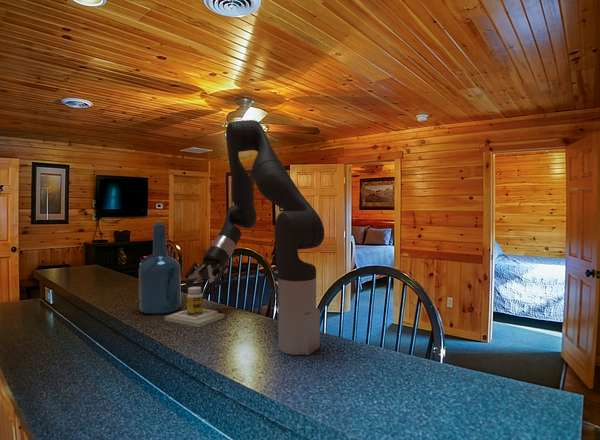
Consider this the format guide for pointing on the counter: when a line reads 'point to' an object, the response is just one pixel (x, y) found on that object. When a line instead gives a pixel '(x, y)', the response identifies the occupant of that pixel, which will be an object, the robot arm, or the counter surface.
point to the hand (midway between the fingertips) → (195, 293)
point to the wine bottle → (159, 277)
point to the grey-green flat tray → (195, 318)
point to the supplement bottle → (194, 302)
